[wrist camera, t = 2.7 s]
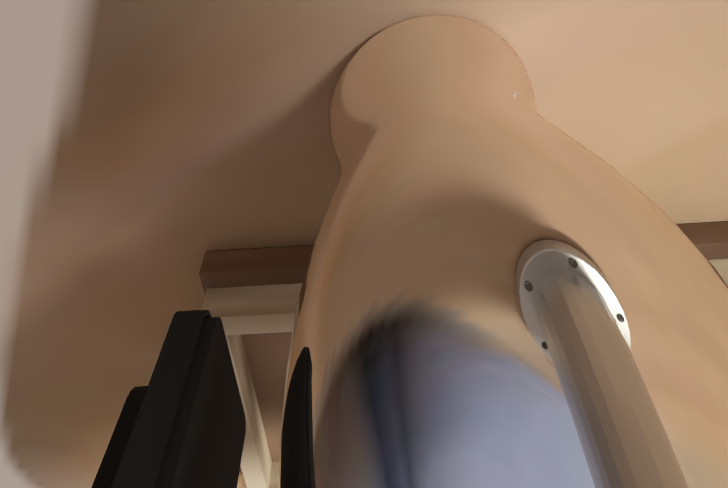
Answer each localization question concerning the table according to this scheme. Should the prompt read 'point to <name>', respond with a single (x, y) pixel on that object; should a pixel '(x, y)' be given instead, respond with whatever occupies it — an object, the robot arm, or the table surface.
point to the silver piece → (494, 295)
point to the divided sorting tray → (275, 323)
